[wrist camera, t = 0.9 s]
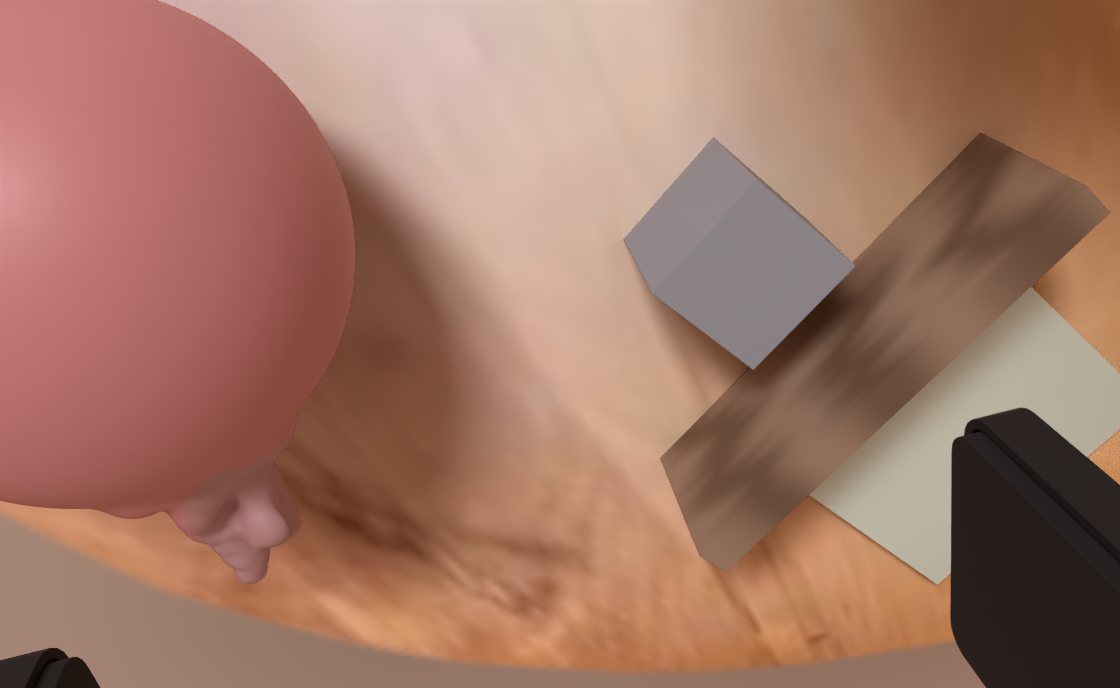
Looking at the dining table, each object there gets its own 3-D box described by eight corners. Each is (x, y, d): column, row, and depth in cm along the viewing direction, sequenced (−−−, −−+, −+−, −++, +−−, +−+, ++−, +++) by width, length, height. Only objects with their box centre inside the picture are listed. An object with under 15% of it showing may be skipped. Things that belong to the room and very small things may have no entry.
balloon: (104, 479, 41) (-46, 789, 27) (-164, 16, 31) (-600, 145, 18) (444, 391, 41) (459, 656, 28) (283, -96, 31) (186, -51, 18)
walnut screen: (980, 132, 39) (1086, 186, 33) (1002, 155, 40) (1110, 212, 33) (660, 458, 45) (699, 555, 38) (683, 474, 45) (726, 572, 39)
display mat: (978, 237, 41) (988, 244, 41) (1139, 394, 47) (1150, 403, 46) (757, 453, 45) (762, 462, 44) (930, 574, 51) (937, 584, 50)
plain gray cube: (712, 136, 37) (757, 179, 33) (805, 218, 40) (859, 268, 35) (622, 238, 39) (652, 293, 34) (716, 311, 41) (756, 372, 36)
